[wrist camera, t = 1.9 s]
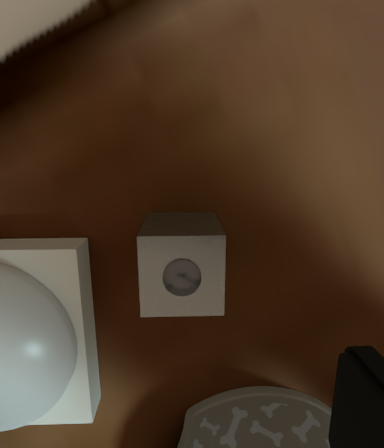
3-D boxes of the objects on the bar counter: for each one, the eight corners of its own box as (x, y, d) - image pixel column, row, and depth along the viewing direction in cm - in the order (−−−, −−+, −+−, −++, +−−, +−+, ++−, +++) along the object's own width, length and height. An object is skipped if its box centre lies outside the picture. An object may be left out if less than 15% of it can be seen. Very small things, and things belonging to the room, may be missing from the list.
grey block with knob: (214, 211, 22) (226, 236, 16) (213, 272, 23) (224, 317, 17) (148, 211, 22) (136, 237, 16) (150, 273, 23) (140, 318, 17)
